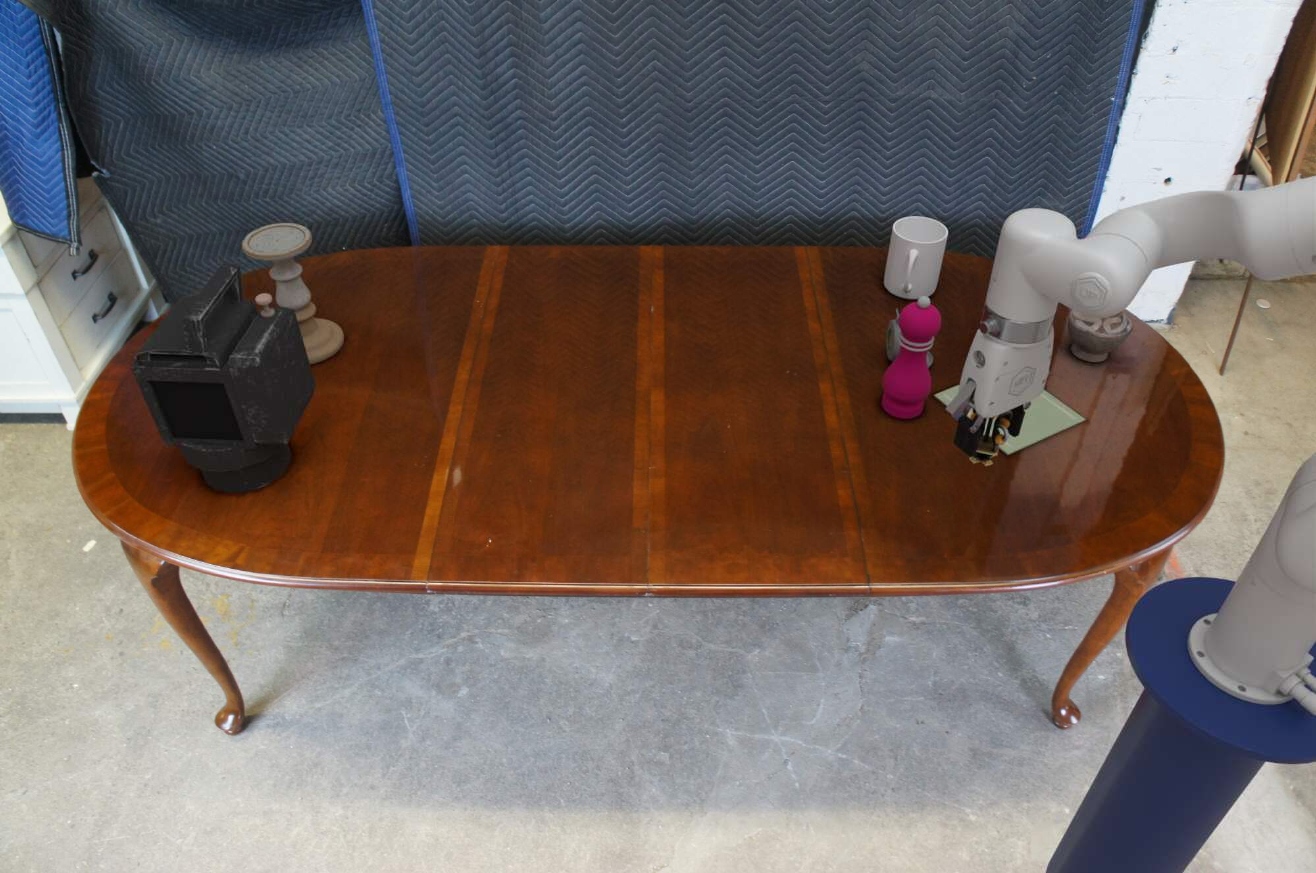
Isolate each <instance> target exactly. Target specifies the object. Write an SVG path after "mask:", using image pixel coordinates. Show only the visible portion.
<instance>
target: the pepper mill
mask: <svg viewBox="0 0 1316 873" xmlns="http://www.w3.org/2000/svg"><path fill="white" fill-rule="evenodd" d="M899 315H900V316H899V322H898V324H899V327H900V330H901V331H900V333H899V338H898V341H899V343H900V345H901V347H900V352H899V354H898V356H897V358H896V359H895V360H894V362H892V363H891V364H890V365H889V366H888V368H887V369H886V371H885V372H884V375H883V378H882V382H881V383H882V389H883V391H884V392H883V394H882V399H881V407H882V408H883V410H884V411H885V413H887V414H888V415H889V416H892V417H894V418H897V419H905V420H907V419H908V420H909V419H913V418H916V417H918V416H920V415H921V414H922V412H923V410H924V405H925V399H926V398H927V397H928V396H929V395H930V392H931V389H932V377H931V372H930V369H929V368H928V366H927V361H926V357H927V351H928V352H929V350H930V349H931V348H932V347H933V345H934V341H935V336H936V335H937V334H938V333H939V331H940V329H941V326H942V315H941V312H939V310H938V309H937V307H936V306H934V305H933V304H931V299H930V297H929V296H928V297H927V296H921V297H920V298H919V299H917V300H916V301H913V302H910V303H909V304H907V305H906V306H904V308H902V310H901V312H900V313H899Z"/></svg>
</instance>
